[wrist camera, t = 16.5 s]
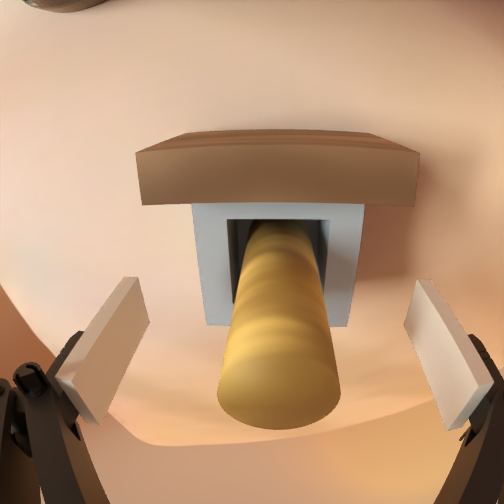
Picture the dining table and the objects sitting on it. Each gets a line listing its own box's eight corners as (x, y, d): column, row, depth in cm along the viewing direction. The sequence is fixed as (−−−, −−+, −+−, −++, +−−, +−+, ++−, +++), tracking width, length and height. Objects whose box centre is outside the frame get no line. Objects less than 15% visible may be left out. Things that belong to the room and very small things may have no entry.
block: (209, 167, 20) (189, 186, 16) (345, 167, 19) (366, 187, 15) (218, 283, 24) (206, 325, 20) (335, 284, 23) (346, 326, 19)
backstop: (185, 133, 19) (135, 152, 12) (368, 133, 18) (419, 153, 11) (188, 167, 20) (142, 205, 13) (366, 168, 19) (413, 206, 12)
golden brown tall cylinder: (249, 261, 22) (223, 427, 10) (247, 207, 20) (210, 356, 8) (307, 262, 22) (330, 428, 10) (310, 207, 20) (350, 357, 8)
